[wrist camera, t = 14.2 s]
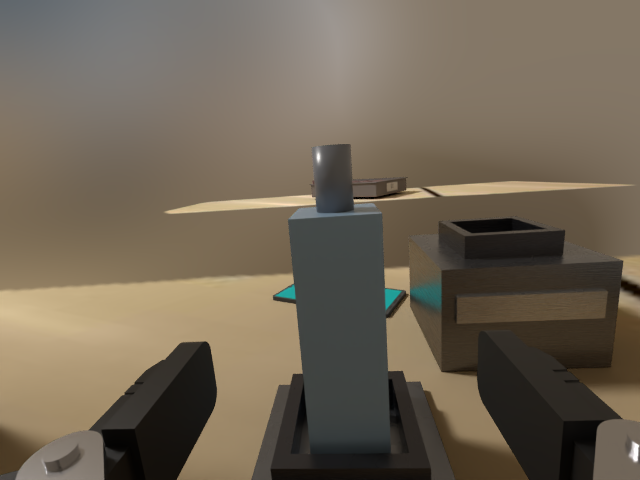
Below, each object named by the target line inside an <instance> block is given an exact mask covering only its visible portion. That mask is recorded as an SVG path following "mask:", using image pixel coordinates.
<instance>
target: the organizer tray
mask: <svg viewBox="0 0 640 480" xmlns="http://www.w3.org/2000/svg"><path fill="white" fill-rule="evenodd" d="M406 178H407V177H399V178H380V179H357V180H352V182H353V197H378V196H382V195H387V194H391V193H396V192H400V191H405V190H406ZM311 189H312V197H316V196H315V184H314V180H313V184H311Z"/></svg>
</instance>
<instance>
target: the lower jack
mask: <svg viewBox="0 0 640 480" xmlns="http://www.w3.org/2000/svg"><path fill="white" fill-rule="evenodd" d="M388 387H389V414H390V441H391V453H370V454H311V453H310V443H309V433H308V422H307V412H306V401H305V391H304V381H303V374H293V377H292V381H291V385H279V387H278V391H277V394H276V397H275V401H274V404H273V408H272V411H271V414H270V418H269V421H268V425H267V428H266V432H265V435H264V438H263V442H262V445H261V449H260V452H259V456H258V459H257V462H256V466H255V469H254V473H253V476H252V479H251V480H455V477H454V474H453V471H452V469H451V466H450V463H449V460H448V457H447V455H446V452H445V449H444V446H443V443H442V441H441V438H440V435H439V432H438V430H437V427H436V424H435V421H434V418H433V416H432V413H431V410H430V407H429V405H428V402H427V399H426V396H425V393H424V391H423V388H422V385H421V382H406V380H405V377H404V374H403V371H388Z"/></svg>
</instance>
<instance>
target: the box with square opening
mask: <svg viewBox="0 0 640 480" xmlns="http://www.w3.org/2000/svg"><path fill="white" fill-rule="evenodd" d="M564 236H565V230H562V229H559V228H555V227H552V226H548V225H545V224H541V223H538V222H534V221H531V220H527V219H524V218H520V217H517V216H513V217H496V218H480V219H464V220H448V221H439V234H431V235H416V236H415V235H414V236H409V262H410V263H409V265H410V307H411V309H412V311H413V313H414V315H415V317H416V320H417V322H418V324H419V326H420V328H421V330H422V332H423V334H424V336H425V338H426V340H427V342H428V345H429V347H430V349H431V351H432V353H433V355H434V357H435V359H436V361H437V363H438V365H439V367H440V369H441V371H478V337H479V333H480V332H481V331H488V330H511V331H512V332H513V333H514V334H515V335H516V336H517V337H518V338H519V339H521V340H522V341H523V342H524V343H525V344H526V345H527V346H528V347H535V348H537V349H539V350H541V351H543V352H545V353H547V354H548V355H550V356H552V357H554V358H555V359H556V360H557V361H558V362H559V363H560V364H562V365H563V366H564V367H565V368H589V367H611V361H612V353H613V344H614V336H615V327H616V319H617V310H618V302H619V293H620V285H621V276H622V268H623V261H622V260H619V259H616V258H614V257H611V256H607V255H605V254H601V253H599V252H596V251H593V250H590V249H587V248H584V247H580V246H578V245H575V244H572V243H569V242H566V241H564Z"/></svg>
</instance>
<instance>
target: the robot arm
mask: <svg viewBox="0 0 640 480" xmlns="http://www.w3.org/2000/svg"><path fill="white" fill-rule="evenodd" d="M477 382H478V389H479V394H480V397H481V400H482V402H483V404H484V406H485V407H486V409H487V411H488V412H489V414H490V416H491V417H492V419H493V421H494V422H495V424H496V425H497V427H498V429H499V430H500V432H501V434H502V435H503V437H504V439H505V440H506V442H507V444H508V445H509V447H510V449H511V450H512V452H513V454H514V455H515V457H516V459H517V460H518V462H519V464H520V465H521V467H522V468H523V470H524V472H525V473H526V475H527V477H528V478H529V480H640V422H636V421H631V420H624V419H622V418H621V417H620V416H619V415H618V414H617V413H616V412H614V411H613V410H612V409H611V408H610V407H609V406H608V405H607V404H605V403H604V402H603V401H602V400H601V399H600V398H599V397H598V396H596V395H595V394H594V393H593V392H592V391H591V390H590V389H589V388H587V387H586V386H585V385H584V384H583V383H580V382H579V380H578V379H577V378H576V377H575V376H574V375H573V374H572V373H571V372H568V371H567V369H566V368H565V367H564V366H563V365H562V364H560V363H559V362H558V361H557V360H556V359H555V358H554V357H552V356H550V355H548V354H547V353H545V352H543V351H541V350H539V349H537V348H535V347H528V346H527V345H526V344H525V343H524V342H523V341H522V340H521V339H519V338H518V337H517V336H516V335H515V334H514V333H513V332H512V331H511V330H488V331H481V332H480V333H479V337H478V372H477ZM216 397H217V387H216V380H215V374H214V367H213V361H212V355H211V349H210V346H209V344H208V342H183V343H180V344H179V345H178V346H177V347H176V348H175V349H174V351H173V352H172V353H171V354H170V355H169V356H168V357H167V358H166V359H165V360H162V361H160V362H159V363H157V364H155V365H154V366H152V367H151V368H149V369H148V370H146V371H145V372H144V373H143V374H142V375H141V376H140V377H139V378H138V379H137V380H136V381H135V384H134V385H132V386H131V387H130V388H129V389H128V390H127V391H126V392H125V395H122V396H121V397H120V398H119V399H118V400H117V401H116V402H115V403H114V404H113V405H112V406H111V407H110V408H109V410H108V411H107V412H106V413H105V414H104V415H103V416H102V417H101V418H100V419H99V420H98V421H97V422H96V423H95V424H94V425H93V426H92V427H91V428H90V429H89V430H88V431H79V432H75V433H71V434H68V435H66V436H63V437H61V438H58V439H56V440H54V441H52V442H51V443H49V444H47V445H46V446H44V447H42V448H41V449H40V450H38V451H37V452H36V453H34V454H33V455H32V456H31V457H30V458H29V459H28V460H27V461H26V462H25V463H24V464H23V465H22V467H21V468H20V470H18V471H14V472H10V473H7V474H3V475H0V480H177V478H178V476H179V474H180V472H181V470H182V468H183V466H184V464H185V463H186V461H187V459H188V457H189V455H190V453H191V451H192V449H193V447H194V445H195V444H196V442H197V440H198V438H199V436H200V434H201V432H202V430H203V428H204V427H205V425H206V423H207V421H208V419H209V417H210V415H211V413H212V411H213V409H214V407H215V403H216Z"/></svg>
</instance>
